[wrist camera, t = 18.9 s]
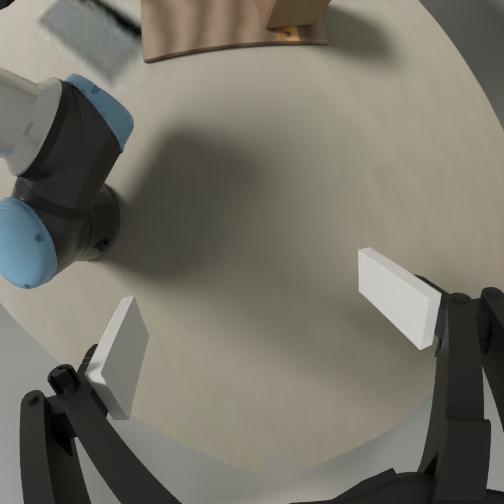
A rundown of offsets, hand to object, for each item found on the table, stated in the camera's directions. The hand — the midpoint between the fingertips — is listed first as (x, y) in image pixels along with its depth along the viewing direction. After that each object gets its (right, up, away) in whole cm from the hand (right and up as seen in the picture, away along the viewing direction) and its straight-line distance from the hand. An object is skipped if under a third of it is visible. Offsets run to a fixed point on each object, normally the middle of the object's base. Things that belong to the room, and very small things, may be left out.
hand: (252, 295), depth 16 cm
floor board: (-4, +47, +24) cm, 53 cm away
